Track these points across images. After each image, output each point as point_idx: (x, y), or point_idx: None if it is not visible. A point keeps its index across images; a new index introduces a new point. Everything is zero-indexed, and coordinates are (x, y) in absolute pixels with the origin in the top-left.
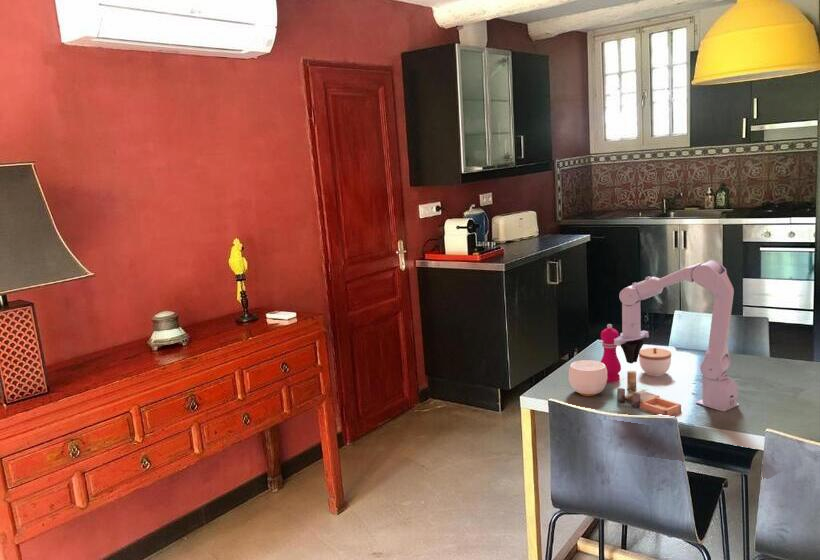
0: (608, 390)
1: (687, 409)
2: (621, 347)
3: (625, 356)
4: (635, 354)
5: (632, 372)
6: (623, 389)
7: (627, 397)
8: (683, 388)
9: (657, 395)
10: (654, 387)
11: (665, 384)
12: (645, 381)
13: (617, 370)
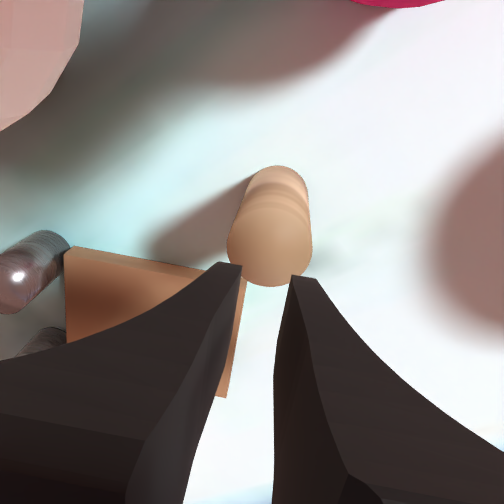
0: (146, 70)
1: (198, 500)
2: (40, 355)
3: (184, 291)
4: (277, 421)
5: (261, 260)
6: (13, 302)
7: (80, 281)
8: (467, 414)
9: (225, 388)
10: (398, 291)
11: (492, 318)
12: (495, 189)
13: (370, 3)
